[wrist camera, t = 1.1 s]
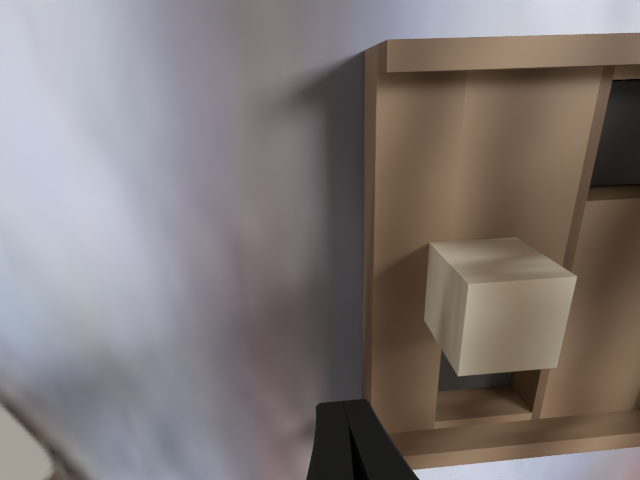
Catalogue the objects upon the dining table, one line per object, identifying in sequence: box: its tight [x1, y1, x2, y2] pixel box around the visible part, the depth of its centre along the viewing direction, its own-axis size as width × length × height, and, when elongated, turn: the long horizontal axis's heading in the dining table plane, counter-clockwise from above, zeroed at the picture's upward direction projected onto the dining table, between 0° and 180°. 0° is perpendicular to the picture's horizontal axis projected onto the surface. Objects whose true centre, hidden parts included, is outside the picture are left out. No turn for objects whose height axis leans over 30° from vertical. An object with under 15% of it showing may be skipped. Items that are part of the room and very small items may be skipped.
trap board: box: [362, 33, 640, 470], centre depth 19 cm, size 18×20×6 cm
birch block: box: [424, 237, 577, 376], centre depth 17 cm, size 4×4×4 cm
